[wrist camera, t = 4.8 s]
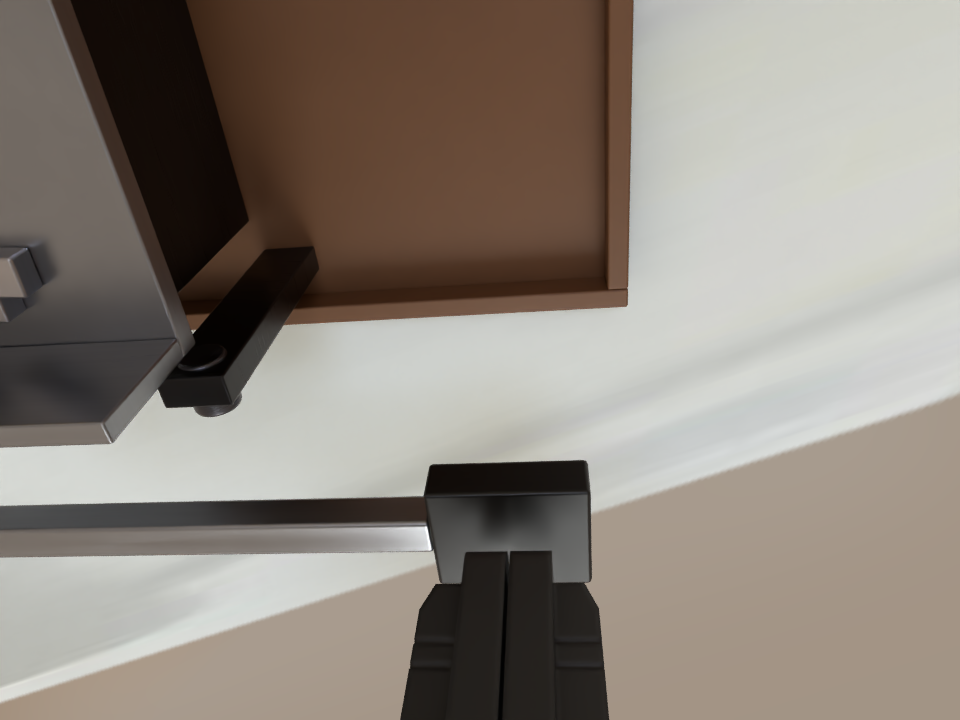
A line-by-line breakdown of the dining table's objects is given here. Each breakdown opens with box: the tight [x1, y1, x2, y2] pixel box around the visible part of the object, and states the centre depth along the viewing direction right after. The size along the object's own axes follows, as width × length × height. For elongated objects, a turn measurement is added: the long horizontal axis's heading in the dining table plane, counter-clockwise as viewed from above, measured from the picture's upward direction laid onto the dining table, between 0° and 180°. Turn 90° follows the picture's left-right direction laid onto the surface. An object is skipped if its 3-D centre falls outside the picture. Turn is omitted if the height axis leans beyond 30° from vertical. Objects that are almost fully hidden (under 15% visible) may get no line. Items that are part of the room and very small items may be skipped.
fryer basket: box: [0, 0, 592, 584], centre depth 12 cm, size 13×18×4 cm
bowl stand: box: [70, 0, 319, 417], centre depth 16 cm, size 12×9×7 cm
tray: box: [178, 0, 633, 330], centre depth 18 cm, size 14×20×2 cm
